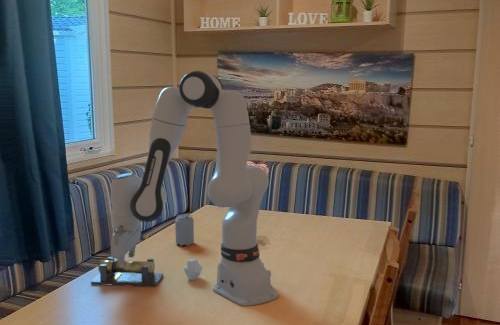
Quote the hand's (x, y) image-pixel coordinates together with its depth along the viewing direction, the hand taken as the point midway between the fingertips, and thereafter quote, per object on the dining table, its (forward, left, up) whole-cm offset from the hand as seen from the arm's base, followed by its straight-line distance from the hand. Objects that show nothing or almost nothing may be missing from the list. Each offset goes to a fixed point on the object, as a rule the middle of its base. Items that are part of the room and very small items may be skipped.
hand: (127, 261), depth 167 cm
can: (+26, -31, -7) cm, 41 cm away
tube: (0, 0, -4) cm, 4 cm away
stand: (0, 0, -7) cm, 7 cm away
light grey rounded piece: (-9, -20, -7) cm, 23 cm away
